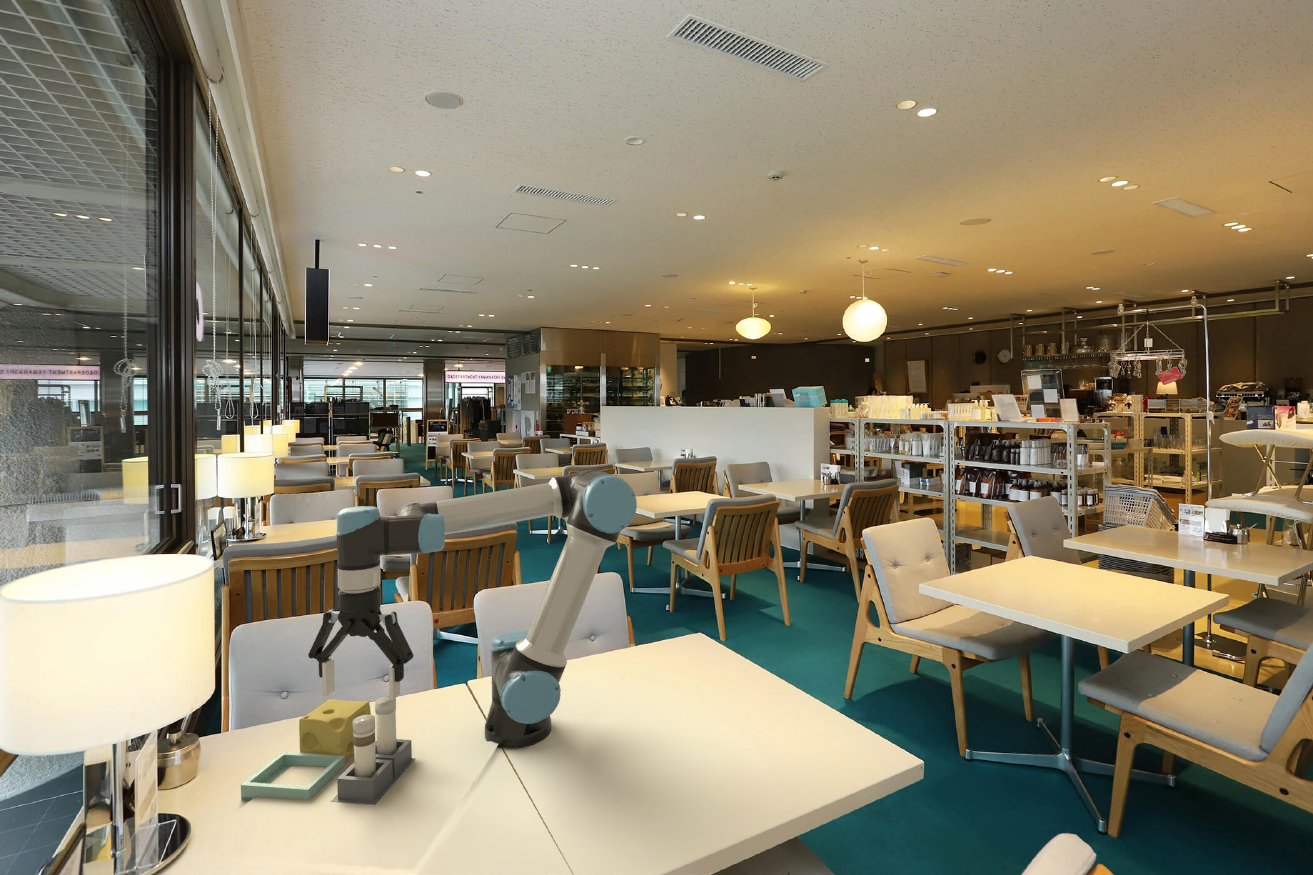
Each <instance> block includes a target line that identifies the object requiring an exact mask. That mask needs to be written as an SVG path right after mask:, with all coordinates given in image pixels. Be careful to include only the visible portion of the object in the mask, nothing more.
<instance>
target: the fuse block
mask: <svg viewBox="0 0 1313 875" xmlns="http://www.w3.org/2000/svg"><path fill="white" fill-rule="evenodd" d="M396 698H397V697H396ZM396 698H395V699H394V700H389V695H388V696H383V697H380V698H377V699H376V700H375V701H374V713H375V739H376V740H375V752H376V773H375V774H374V775H373V776H372V777H371V778H368V777H355V764H354V762H353V763H351V765H350V766H348V768H346V770H344V772H342V773H341V774H340V775H339V776H338V777H337V778H336V781H337V783H336V784H337V787H336V788H337V794H336V795H335V796H334V797H333V799H331V800H330V802H331V803H343V804H345V803H346V804H357V805H358V804H359V805H373V806H376V805H377V803H378V802H379V801H380V800H381V799H382V798H383V796H385V794H386V793H388V791H389V790H390V789H391V788H392V786H393V785H394V784H395V783H396V782H397V780H398V779H399V778H400V777H402V775H403V774H404V773H405V772H406V771H407V769H409V767H410V766H411V765H412V763H413V762H414V761H415V760H416V758H415V757H413V753H412V752H413V751H412V739H402V738H401V739H399V738H397V715H396V713H397V711H396V710H397V699H396ZM398 781H399V780H398Z"/></svg>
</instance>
